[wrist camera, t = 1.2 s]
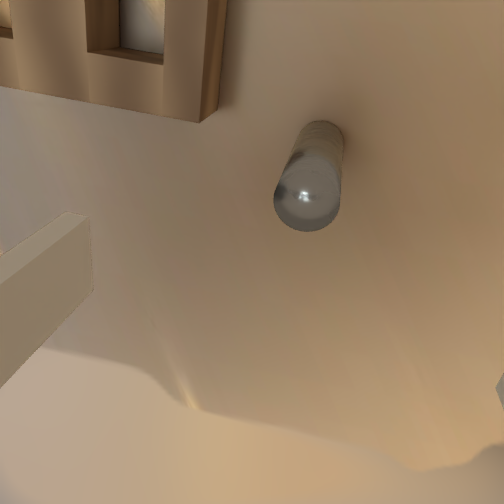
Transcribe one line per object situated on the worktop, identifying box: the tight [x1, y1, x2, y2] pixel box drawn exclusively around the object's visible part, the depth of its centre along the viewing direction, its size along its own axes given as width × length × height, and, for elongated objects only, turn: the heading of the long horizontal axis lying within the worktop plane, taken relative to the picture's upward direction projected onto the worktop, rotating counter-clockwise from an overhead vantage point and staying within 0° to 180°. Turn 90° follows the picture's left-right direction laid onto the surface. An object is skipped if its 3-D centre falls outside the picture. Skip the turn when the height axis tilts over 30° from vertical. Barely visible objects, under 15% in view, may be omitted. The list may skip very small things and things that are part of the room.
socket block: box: [0, 0, 227, 123], centre depth 26 cm, size 18×10×4 cm, turn 82°
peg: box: [274, 121, 344, 232], centre depth 24 cm, size 3×3×10 cm
